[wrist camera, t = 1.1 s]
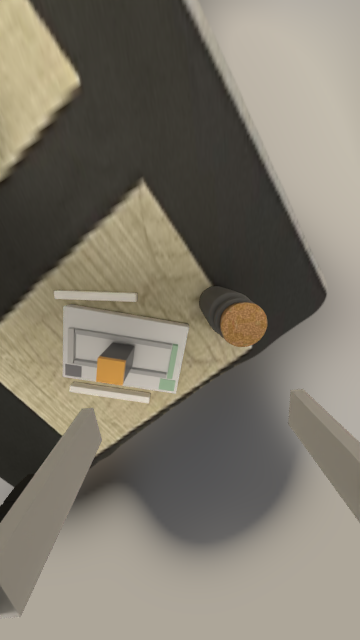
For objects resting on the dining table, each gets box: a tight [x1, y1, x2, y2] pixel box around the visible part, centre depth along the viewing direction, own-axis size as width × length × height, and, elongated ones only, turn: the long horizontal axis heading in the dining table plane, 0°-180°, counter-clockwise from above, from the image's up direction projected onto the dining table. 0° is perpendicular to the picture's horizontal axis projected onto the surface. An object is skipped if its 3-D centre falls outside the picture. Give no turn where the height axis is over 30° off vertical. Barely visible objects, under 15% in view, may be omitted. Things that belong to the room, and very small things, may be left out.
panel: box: [63, 304, 189, 394], centre depth 33 cm, size 22×14×3 cm, turn 80°
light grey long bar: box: [70, 382, 151, 403], centre depth 36 cm, size 16×1×1 cm, turn 80°
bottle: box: [199, 286, 267, 347], centre depth 25 cm, size 6×6×15 cm
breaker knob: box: [96, 342, 135, 385], centre depth 29 cm, size 4×4×6 cm
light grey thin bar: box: [54, 290, 138, 302], centre depth 31 cm, size 14×1×1 cm, turn 88°
